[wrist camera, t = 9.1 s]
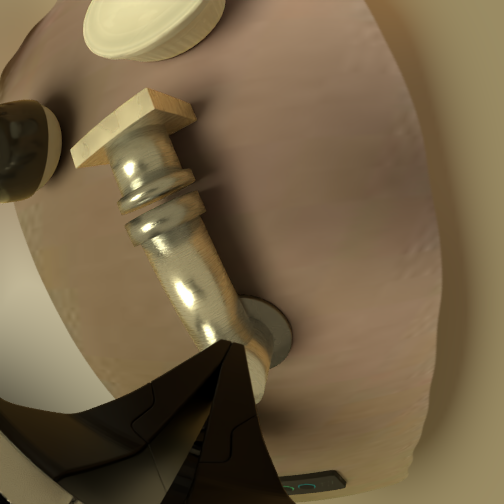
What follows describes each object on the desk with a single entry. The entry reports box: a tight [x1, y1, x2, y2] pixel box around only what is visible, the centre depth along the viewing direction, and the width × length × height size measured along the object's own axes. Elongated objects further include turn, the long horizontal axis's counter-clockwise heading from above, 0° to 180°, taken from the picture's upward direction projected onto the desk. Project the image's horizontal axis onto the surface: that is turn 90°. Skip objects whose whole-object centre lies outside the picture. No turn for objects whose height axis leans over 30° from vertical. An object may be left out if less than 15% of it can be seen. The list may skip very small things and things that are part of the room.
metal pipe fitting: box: [70, 87, 292, 369], centre depth 18 cm, size 23×8×6 cm, turn 23°
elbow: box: [124, 190, 274, 404], centre depth 18 cm, size 15×5×6 cm, turn 23°
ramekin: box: [83, 0, 225, 62], centre depth 12 cm, size 11×11×5 cm
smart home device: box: [279, 470, 346, 495], centre depth 33 cm, size 8×2×20 cm
